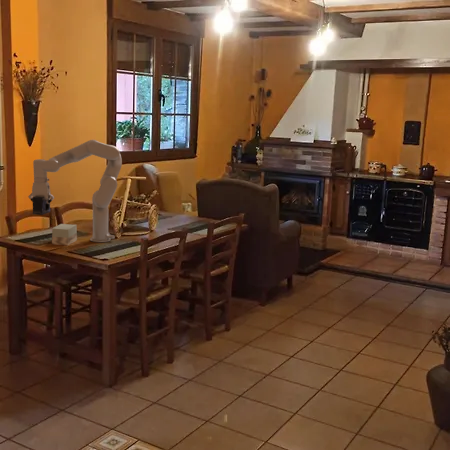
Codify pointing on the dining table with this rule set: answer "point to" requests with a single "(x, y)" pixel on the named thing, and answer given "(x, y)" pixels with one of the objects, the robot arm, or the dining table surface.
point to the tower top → (64, 230)
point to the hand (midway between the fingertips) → (41, 209)
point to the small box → (39, 206)
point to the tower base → (64, 240)
